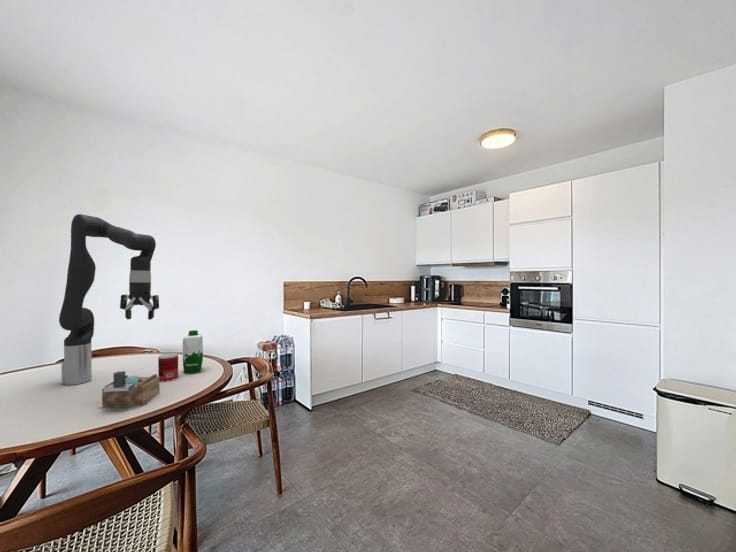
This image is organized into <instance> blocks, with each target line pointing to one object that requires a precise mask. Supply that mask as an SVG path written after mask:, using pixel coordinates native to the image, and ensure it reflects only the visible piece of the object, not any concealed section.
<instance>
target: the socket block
mask: <svg viewBox="0 0 736 552" xmlns="http://www.w3.org/2000/svg"><path fill="white" fill-rule="evenodd" d="M127 377H129V376H128V374H127V375H126V374H125V384H126V378H127ZM109 385H114V380H112V382H110V383H108V384H106V385H105V386H104V387H103V388H101V408H102V407H104V408H117V407H116V406H125V407H141V406H140V405H144V406H145V405H146V404H147V402H148V401H149V402H151V399H152V400H153V399H154V398H156V397H157V396H159V394H160V380H159V377H158V375H157V373H155V374H153V375H151V376H142V377H139V376H138V384H136V385H135V387H134V388H132V389H130V390H129V391H113V392H104V388H106V387H108V386H109ZM149 402H148V403H149ZM137 405H139V406H137Z"/></svg>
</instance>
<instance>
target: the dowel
mask: <svg viewBox="0 0 736 552" xmlns="http://www.w3.org/2000/svg"><path fill="white" fill-rule="evenodd" d="M138 377H139V375H129V376H128V377H127V378H126V384H135V385H136V384H138Z"/></svg>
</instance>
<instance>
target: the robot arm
mask: <svg viewBox="0 0 736 552" xmlns="http://www.w3.org/2000/svg"><path fill="white" fill-rule="evenodd" d="M87 237H91V238H106V239H109V240H110V241H111V242H113V243H115V244H118V245H121V246H123V247H125V248H126V249H128V250H131V251H136V252H137V251H140V253H139V255H136V256H132V257H131V258H130V271H129V279H128V281H129V283H128V284H129V288H128V292H129V294H121V295H120V301H119V302H120V303H119V309H121V310H124V312H125V313H124V314H125V315H124V317H125V318H126V320H131V319H132V308H134V307H135V306H144V307H145V308H146V309H147V310H148V312H147V320H149V321H150V320H151V321H152V320H153V318H154V317H155V310H158V309H159V308H160V297H159V295H158V294H155V295H154V294H153V295H151V291H152V274H151V268H152V267H151V266H152V265H151V264H152V263H151V261H152V259H153V256H154V254H155V250H156V245H157V243H156V238H154V237H153V236H152V235H151V234H150V235H149V234H144V233H143V234H141V233H136V232H134V231H132V230H130V229H126V228H123V227H120V226H115V225H113V224H111V223H109V222H108V221H106V220H104V219H102V218H101V217H98V216H97V217H96V216H92V215H89V214H87V215H86V214H81V213H79V214H76V215H74V216H73V218H72V221H71V225H70V253H69V254H70V255H69V260H68V265H67V266H68V267H67V274H66V285H65V291H64V298H63V302H62V305H61V309H60V311H59V312H60V313H59V315H58V317H59V318H58V322H59V325H60V328H61V329H63V330H64V331H70V332H69V334H68V335H67V337H65V338H64V340H63V359H64V360H63V361H62V362H61V385H66V386H75V385H81V384H84V383H88V382H90V381H92V380H93V379H92V376H93V375H92V371H93V370H92V369H93V368H92V367H93V366H92V365H93V363H92V359H93V358H92V339H93V337H94V332H95V315H94V313H93V312H92V310H90V308H87V307H84V301H85V297H86V295H87V293H88V292H89V291H90V289H91V287H92V286H93V284H94V281H95V276H96V270H97V269H96V268H97V265H96V263H95V261H94V259H93V258H92V256H91V254H90V253H89V251H88V248H87V242H86V241H87ZM128 300H129V302H128ZM151 300H152V302H151Z"/></svg>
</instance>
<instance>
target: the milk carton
mask: <svg viewBox="0 0 736 552" xmlns="http://www.w3.org/2000/svg"><path fill="white" fill-rule="evenodd" d="M203 338H204V337H203V334H202V333H199V331H198V330H197V329H196V330H193V329H192V330H189V331H188V334H185V335H184V336H183V338H182V366H183V374H184V375H186V374H185V373H190V374H197V372H199V373H201V372H202V367H203V366H202V365H203V360H204V358H203V357H204V355H203V354H204V349H203V348H204V344H203V342H204V340H203Z"/></svg>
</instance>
